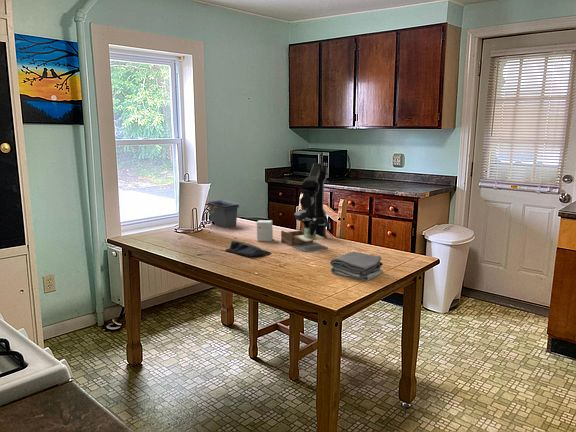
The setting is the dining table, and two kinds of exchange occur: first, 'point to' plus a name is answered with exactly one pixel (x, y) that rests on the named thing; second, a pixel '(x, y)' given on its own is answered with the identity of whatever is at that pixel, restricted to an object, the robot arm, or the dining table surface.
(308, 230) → the cover plate
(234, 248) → the crumpled dark cloth
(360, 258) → the towel
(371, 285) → the dining table surface
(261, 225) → the small box
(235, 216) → the storage bin
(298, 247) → the rubber mat
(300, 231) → the walnut box
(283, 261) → the dining table surface
